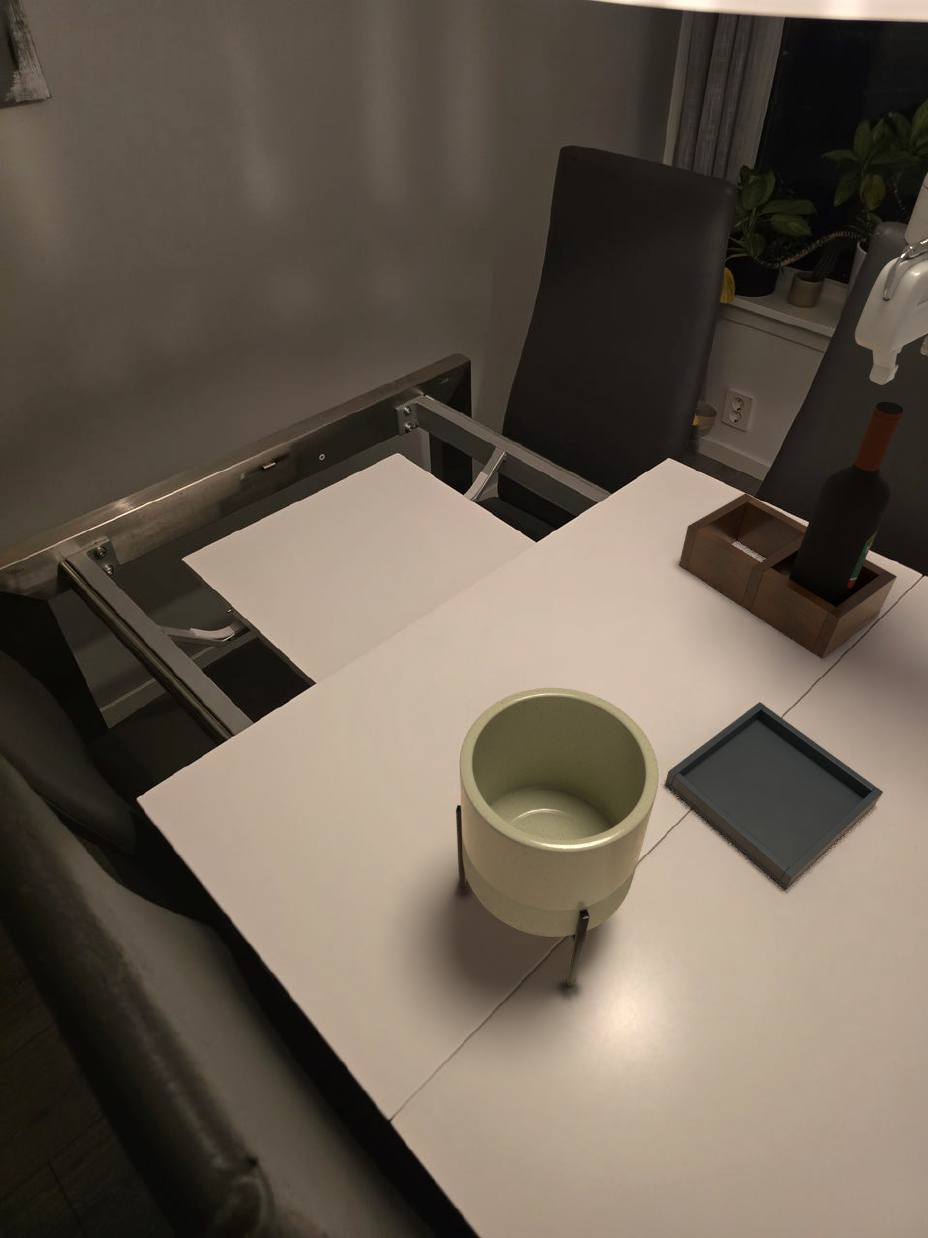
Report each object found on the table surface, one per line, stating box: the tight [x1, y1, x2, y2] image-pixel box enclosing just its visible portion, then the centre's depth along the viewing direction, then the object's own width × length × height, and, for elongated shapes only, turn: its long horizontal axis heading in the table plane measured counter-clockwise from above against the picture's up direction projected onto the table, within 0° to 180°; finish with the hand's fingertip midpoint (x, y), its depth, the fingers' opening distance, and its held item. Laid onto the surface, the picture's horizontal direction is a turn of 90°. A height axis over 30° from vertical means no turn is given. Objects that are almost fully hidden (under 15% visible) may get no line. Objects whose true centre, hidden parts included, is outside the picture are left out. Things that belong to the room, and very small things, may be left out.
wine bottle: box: [789, 401, 904, 607], centre depth 94 cm, size 8×8×30 cm
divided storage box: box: [678, 492, 898, 659], centre depth 106 cm, size 24×12×7 cm, turn 38°
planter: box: [455, 687, 660, 988], centre depth 68 cm, size 15×16×23 cm
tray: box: [664, 701, 884, 890], centre depth 84 cm, size 16×16×2 cm
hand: (905, 367), depth 81 cm, fingers open, 8 cm apart
